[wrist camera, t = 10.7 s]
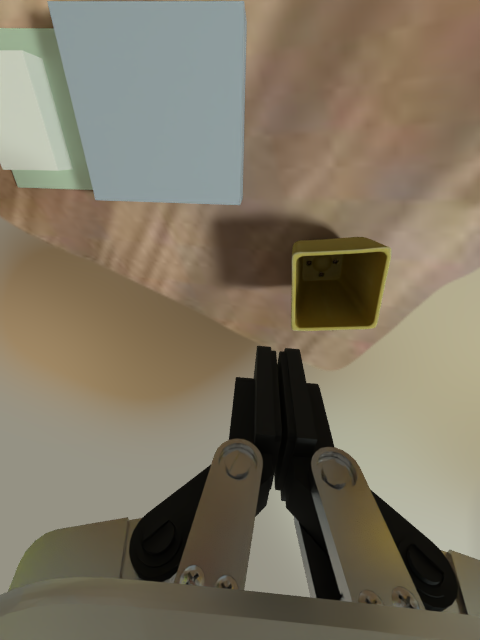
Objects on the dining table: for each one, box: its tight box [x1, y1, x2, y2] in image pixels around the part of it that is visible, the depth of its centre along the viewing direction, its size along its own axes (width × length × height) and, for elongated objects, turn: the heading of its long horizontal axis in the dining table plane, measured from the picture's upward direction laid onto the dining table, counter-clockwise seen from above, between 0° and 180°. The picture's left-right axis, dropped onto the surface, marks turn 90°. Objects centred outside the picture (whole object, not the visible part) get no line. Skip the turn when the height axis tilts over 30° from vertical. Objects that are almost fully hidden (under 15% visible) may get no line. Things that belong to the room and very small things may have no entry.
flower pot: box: [291, 237, 391, 331], centre depth 30 cm, size 9×9×9 cm
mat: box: [0, 28, 93, 190], centre depth 28 cm, size 13×11×1 cm
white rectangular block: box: [0, 50, 73, 171], centre depth 27 cm, size 9×6×2 cm, turn 179°
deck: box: [47, 1, 247, 205], centre depth 26 cm, size 14×15×4 cm
